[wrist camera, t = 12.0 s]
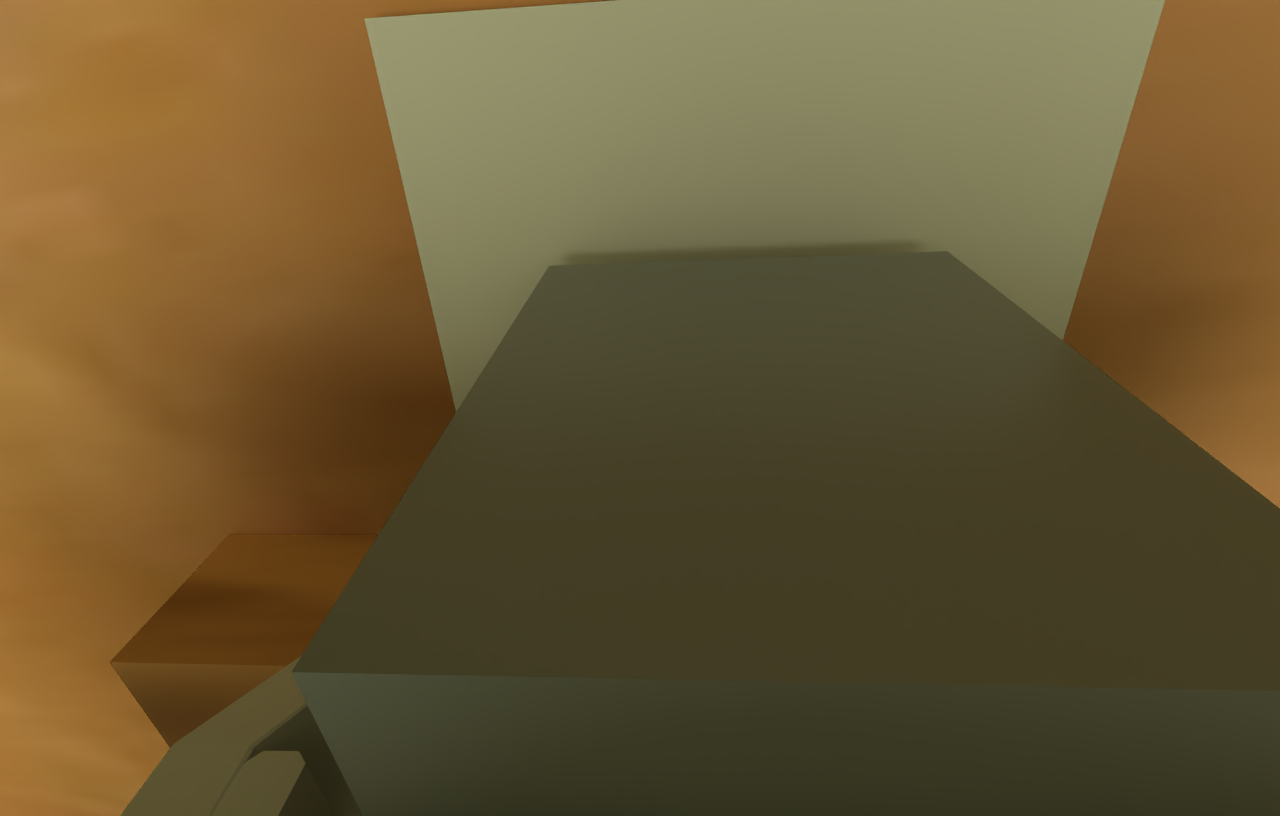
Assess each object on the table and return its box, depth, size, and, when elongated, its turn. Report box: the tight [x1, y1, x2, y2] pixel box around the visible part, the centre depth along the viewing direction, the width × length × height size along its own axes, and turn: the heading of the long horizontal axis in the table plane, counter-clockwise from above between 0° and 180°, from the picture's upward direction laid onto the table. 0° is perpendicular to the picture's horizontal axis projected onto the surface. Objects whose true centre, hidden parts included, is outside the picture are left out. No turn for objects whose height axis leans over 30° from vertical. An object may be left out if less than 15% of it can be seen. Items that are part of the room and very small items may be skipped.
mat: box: [365, 0, 1165, 412], centre depth 13 cm, size 14×12×1 cm
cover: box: [291, 251, 1280, 816], centre depth 8 cm, size 6×6×8 cm
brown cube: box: [110, 534, 378, 748], centre depth 15 cm, size 4×4×4 cm
